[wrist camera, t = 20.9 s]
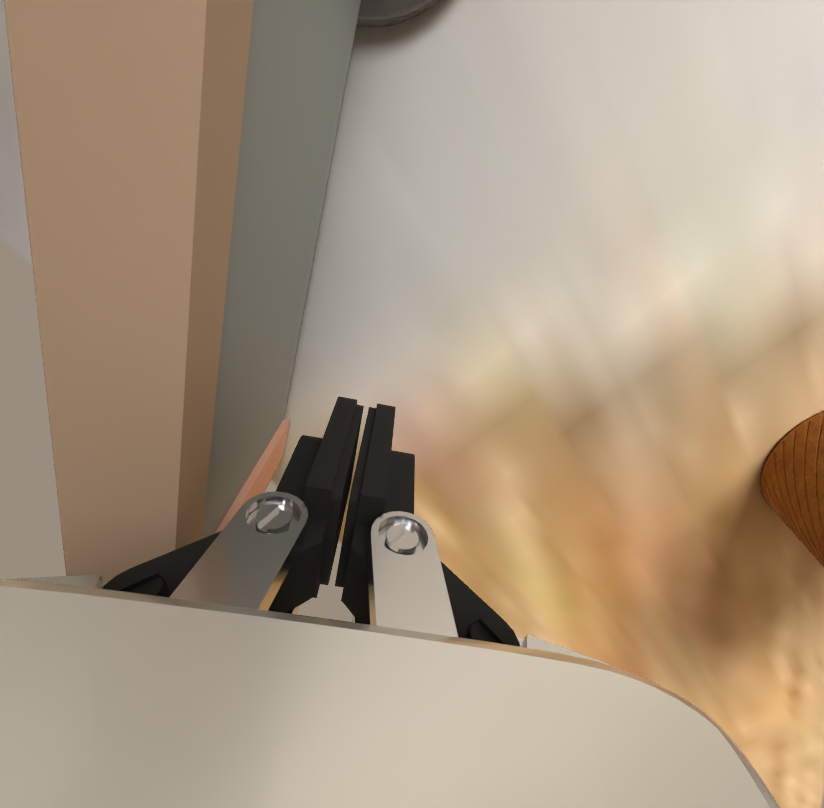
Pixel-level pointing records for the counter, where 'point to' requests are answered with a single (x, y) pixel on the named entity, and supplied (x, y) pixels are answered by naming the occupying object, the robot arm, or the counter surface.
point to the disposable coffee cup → (799, 483)
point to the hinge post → (390, 11)
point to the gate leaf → (171, 248)
